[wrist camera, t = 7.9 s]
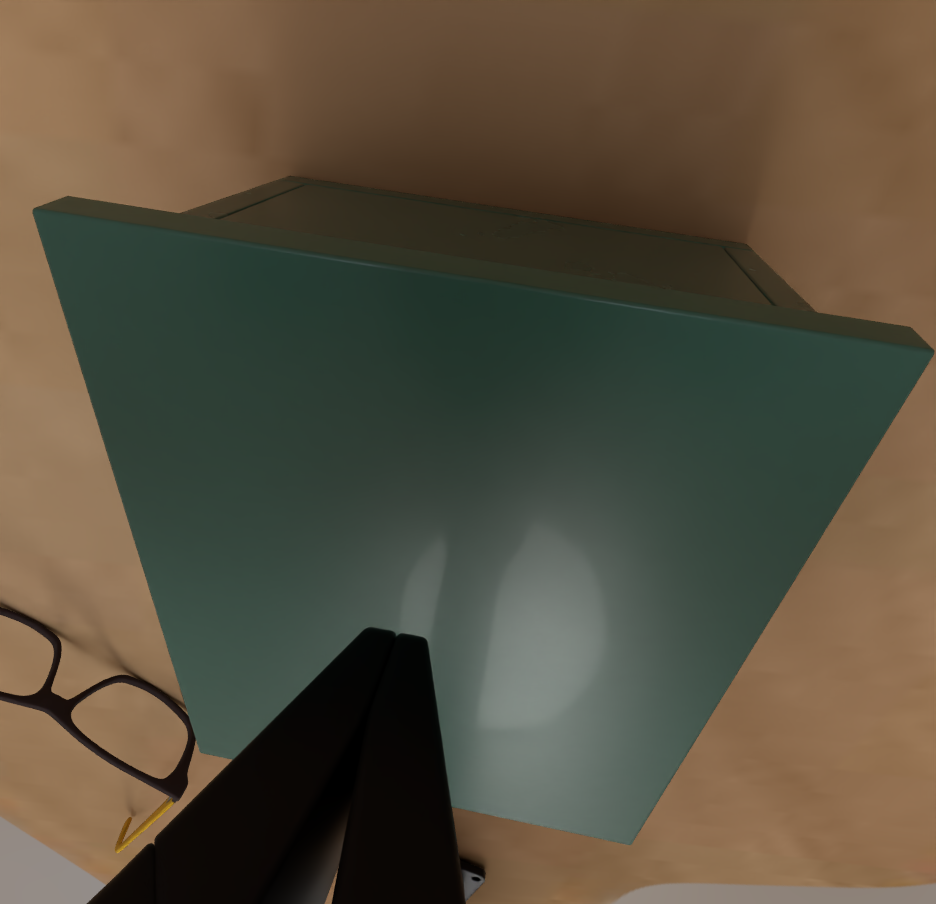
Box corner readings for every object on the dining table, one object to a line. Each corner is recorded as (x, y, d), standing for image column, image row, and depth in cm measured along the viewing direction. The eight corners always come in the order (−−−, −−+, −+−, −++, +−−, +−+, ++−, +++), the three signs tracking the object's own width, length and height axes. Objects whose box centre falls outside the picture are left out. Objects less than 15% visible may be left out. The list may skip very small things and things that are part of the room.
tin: (288, 175, 17) (127, 229, 11) (747, 243, 16) (852, 344, 10) (303, 565, 25) (213, 726, 19) (615, 625, 24) (629, 814, 18)
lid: (67, 194, 9) (28, 207, 9) (912, 325, 9) (938, 351, 8) (212, 727, 19) (199, 753, 18) (629, 816, 18) (631, 846, 17)
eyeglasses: (227, 719, 31) (185, 797, 28) (132, 817, 38) (89, 889, 35) (-44, 568, 28) (-129, 634, 25) (-93, 705, 35) (-164, 771, 32)
